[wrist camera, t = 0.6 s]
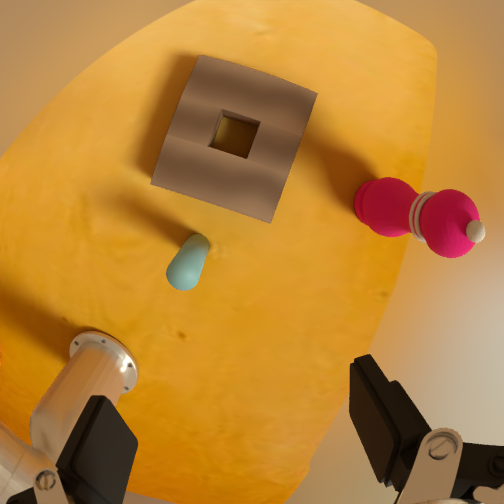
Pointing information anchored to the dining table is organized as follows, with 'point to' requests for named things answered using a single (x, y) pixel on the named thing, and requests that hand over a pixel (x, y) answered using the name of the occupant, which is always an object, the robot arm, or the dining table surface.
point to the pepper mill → (420, 215)
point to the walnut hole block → (225, 164)
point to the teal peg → (188, 263)
